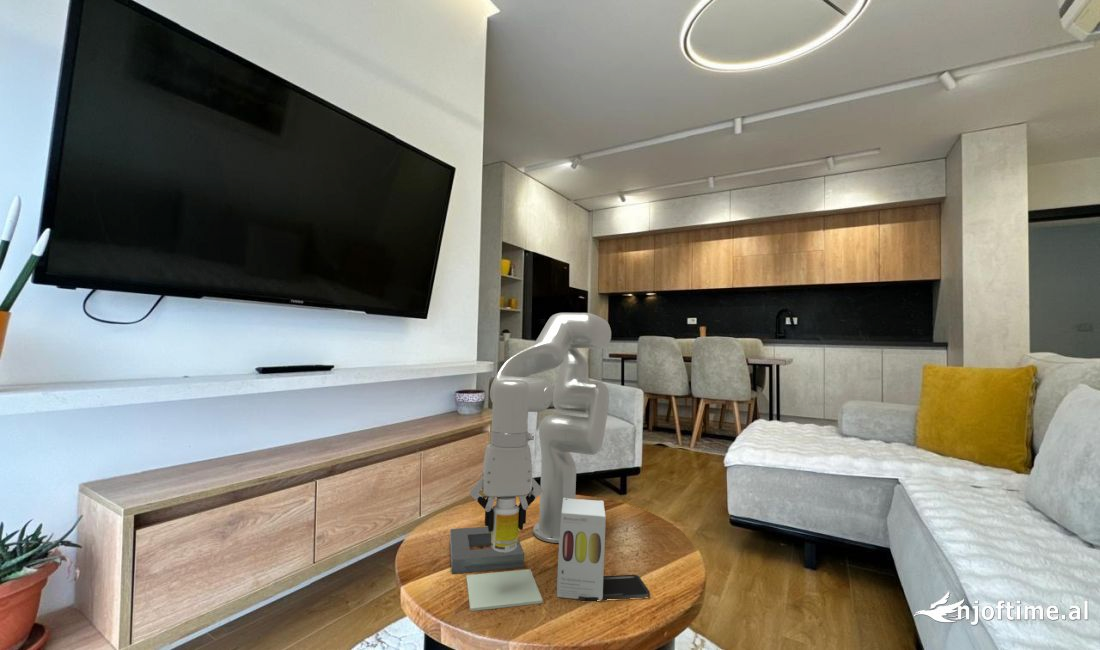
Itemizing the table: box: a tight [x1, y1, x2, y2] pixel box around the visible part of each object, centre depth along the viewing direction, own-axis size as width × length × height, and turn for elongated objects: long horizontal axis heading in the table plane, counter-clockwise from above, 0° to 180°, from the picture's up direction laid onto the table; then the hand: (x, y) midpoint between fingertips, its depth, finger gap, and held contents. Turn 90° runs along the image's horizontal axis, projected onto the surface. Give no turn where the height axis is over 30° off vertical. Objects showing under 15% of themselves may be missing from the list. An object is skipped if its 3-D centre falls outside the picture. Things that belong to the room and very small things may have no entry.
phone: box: [577, 574, 651, 602], centre depth 90 cm, size 8×1×15 cm
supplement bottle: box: [490, 496, 519, 552], centre depth 89 cm, size 6×6×10 cm
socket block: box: [449, 526, 525, 575], centre depth 103 cm, size 16×16×3 cm
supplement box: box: [556, 498, 607, 600], centre depth 91 cm, size 10×9×17 cm
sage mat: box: [465, 568, 544, 612], centre depth 88 cm, size 14×12×1 cm
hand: (504, 527), depth 89 cm, fingers closed on supplement bottle, 5 cm apart
